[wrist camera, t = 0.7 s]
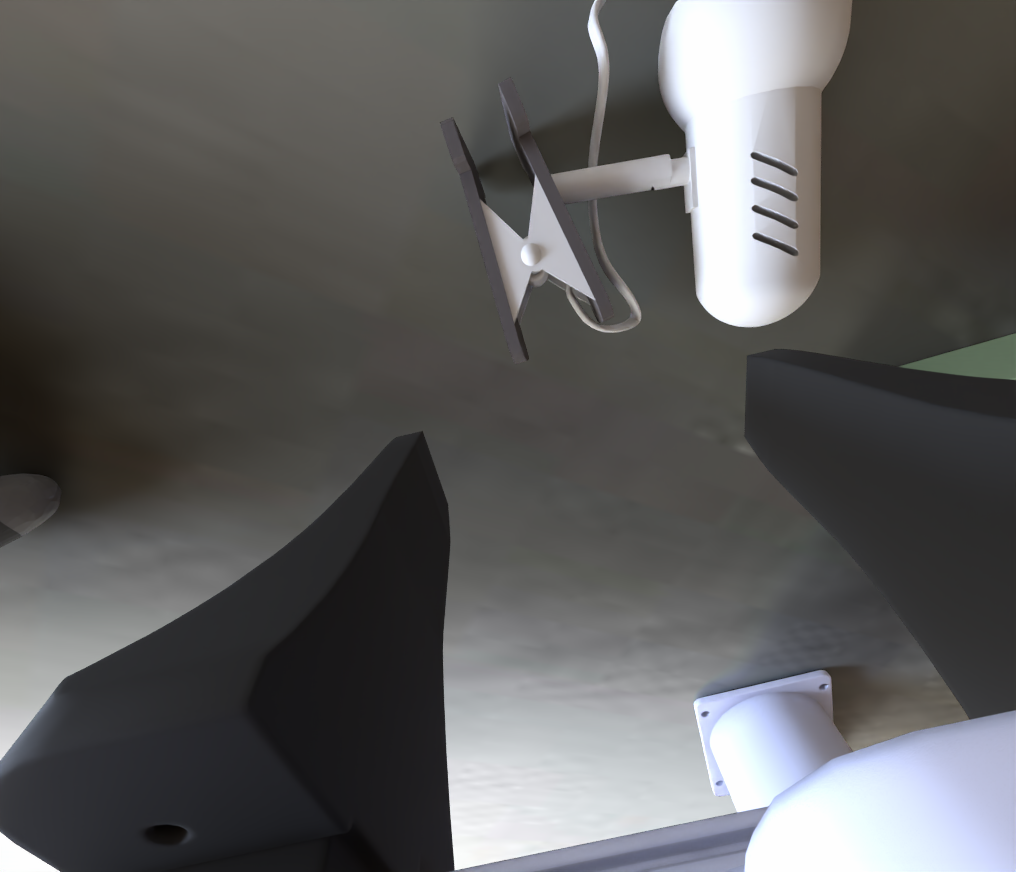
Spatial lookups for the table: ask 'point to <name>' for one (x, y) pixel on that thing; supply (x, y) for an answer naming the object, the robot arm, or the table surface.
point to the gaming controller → (25, 504)
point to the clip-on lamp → (688, 167)
